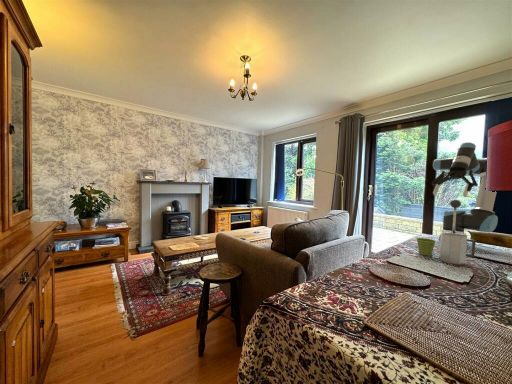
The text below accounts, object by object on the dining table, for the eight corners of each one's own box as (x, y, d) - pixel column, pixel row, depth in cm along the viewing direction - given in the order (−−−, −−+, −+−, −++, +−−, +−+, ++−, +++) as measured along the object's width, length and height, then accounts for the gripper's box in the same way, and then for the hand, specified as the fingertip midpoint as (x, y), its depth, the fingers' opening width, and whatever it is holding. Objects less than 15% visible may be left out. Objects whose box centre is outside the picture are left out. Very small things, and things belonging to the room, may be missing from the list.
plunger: (443, 235, 123) (445, 198, 122) (460, 237, 119) (463, 199, 118) (445, 238, 117) (448, 199, 116) (463, 240, 113) (466, 200, 112)
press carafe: (437, 256, 126) (439, 229, 125) (470, 261, 118) (472, 232, 118) (440, 262, 117) (442, 232, 116) (476, 267, 110) (478, 236, 109)
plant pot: (412, 252, 132) (412, 238, 131) (421, 250, 136) (421, 237, 135) (429, 257, 123) (430, 242, 123) (438, 255, 127) (439, 241, 127)
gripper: (432, 162, 137) (420, 190, 132) (488, 159, 115) (476, 192, 110) (436, 170, 140) (425, 197, 135) (492, 168, 118) (481, 200, 113)
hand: (448, 195), depth 123 cm, fingers open, 13 cm apart
